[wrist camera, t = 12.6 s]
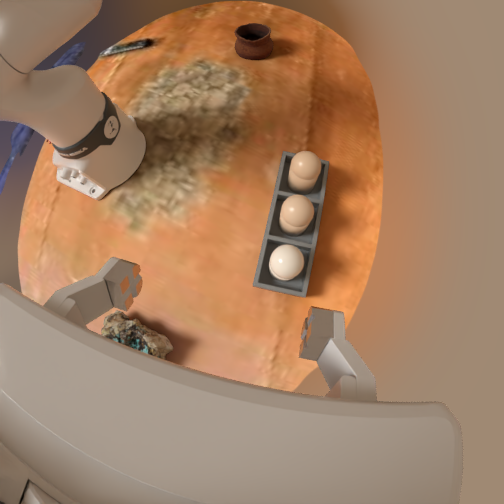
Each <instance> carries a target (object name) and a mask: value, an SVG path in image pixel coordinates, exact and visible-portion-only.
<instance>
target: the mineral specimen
mask: <svg viewBox="0 0 504 504" xmlns="http://www.w3.org/2000/svg"><path fill="white" fill-rule="evenodd" d="M102 336H104V337H106V338H109V339H111V340H113V341H116V342H118V343H121V344H123V345H126V346H128V347H131V348H133V349H136V350H138V351H141V352H144V353H146V354H149V355H152V356H155V357H158V358H160V359H163V360H166V357H165V355H166V354H168V353H169V352H171V351H172V350H173V346H172V345H171V343H170V342H169V340H168V338H167V337H166V336H165V335H161V334H159V333H157V332H156V331H154V330H150V329H149V328H147V327H146V326H145V325H142V324H141V323H140V321H139V320H138V319H134V320H130V321H129V317H128V316H126V315H125V314H124V313H123V312H120V311H117V310H116V312H115V313H113V314H111V315H109V316H107V317H105V319H104V327H103V328H102Z"/></svg>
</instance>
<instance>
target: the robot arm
mask: <svg viewBox="0 0 504 504" xmlns="http://www.w3.org/2000/svg"><path fill="white" fill-rule="evenodd" d="M101 4H102V0H0V121H13V122H18V123H22V124H25V125H27V126H29V127H31V128H32V129H34V130H36V131H37V132H39V133H40V134H42V135H43V136H44V137H46V138H47V142H48V140H49V144H51V142H52V144H53V146H54V148H55V150H54V153H53V164H54V165H55V166H56V167H57V168H58V169H57V180H58V181H59V182H61V183H62V184H64V185H67V186H69V187H71V188H73V189H75V190H77V191H79V192H81V193H83V194H85V195H87V196H89V197H91V198H93V199H95V200H100V199H102V198H103V197H104V196H105V195H106V194H107V193H108V192H109V191H110V190H111V189H112V188H114V187H116V186H118V185H120V184H122V183H123V182H125V181H126V180H127V179H128V178H129V177H130V176H131V175H132V174H133V173H134V172H135V171H136V170H137V168H138V167H139V165H140V163H141V161H142V159H143V157H144V154H145V149H146V141H145V137H144V135H143V133H142V132H141V131H140V130H139V129H138V128H137V126H136V121H135V119H134V118H133V116H127V115H126V114H125V113H124V112H123V111H122V110H121V109H120V107H119V106H118V105H117V104H115V103H112V101H111V99H110V98H109V97H107V96H106V94H105V93H103V92H100V90H99V89H98V88H97V86H96V85H95V84H94V82H93V81H92V79H91V78H90V77H89V75H88V74H87V73H86V71H85V70H84V69H82V68H80V67H77V66H73V65H63V66H59V67H56V68H53V69H50V70H45V71H35V70H32V69H33V68H34V67H36V66H37V65H38V64H39V63H40V62H41V61H43V60H44V59H45V58H46V57H47V56H49V55H50V54H51V53H52V52H53V51H55V50H56V49H57V48H59V47H60V46H61V45H63V44H64V43H65V42H67V41H68V40H69V39H71V38H72V37H73V36H74V35H75V34H76V33H77V32H78V31H80V30H81V29H82V28H83V27H84V26H85V25H86V24H87V23H89V22H90V21H91V20H92V19H93V18H94V17H95V16H97V14H98V12H99V10H100V7H101ZM94 191H95V192H94ZM140 271H141V270H140V265H138V264H135V263H132V262H129V261H126V260H123V259H119V258H116V257H112V258H110V259H109V260H108V261H107V263H106V264H105V265H104V266H103V267H102V268H101V269H100V270H99V272H98V273H97V274H96V275H95V276H90V277H87V278H85V279H83V280H80V281H78V282H76V283H73V284H71V285H69V286H66V287H64V288H62V289H59V290H57V291H55V293H54V294H53V295H52V296H51V297H50V299H49V300H48V301H47V302H46V303H45V305H44V306H42V305H40V304H38V303H37V302H35V301H33V300H31V299H30V298H28V297H26V296H25V295H23V294H21V293H20V292H18V291H16V290H15V289H13V288H12V287H10V286H9V285H7V284H5V283H1V284H0V504H459V500H460V493H461V485H462V473H463V442H462V431H461V426H460V423H459V421H458V420H457V418H456V417H455V416H454V414H453V413H452V412H451V411H450V409H449V408H448V407H447V406H446V405H445V404H444V403H442V402H383V401H377V397H376V381H375V377H374V376H373V374H372V373H371V371H370V370H369V368H368V367H367V366H366V364H365V363H364V362H363V360H362V359H361V357H360V356H359V355H358V353H357V352H356V351H355V349H354V348H353V346H352V345H351V343H350V342H349V341H346V337H345V321H344V313H343V312H341V311H335V310H330V309H324V308H319V307H314V306H311V307H310V309H309V311H308V317H307V318H305V321H304V324H303V327H302V332H301V339H302V343H301V345H300V352H299V358H304V359H309V360H314V361H317V364H318V366H319V368H320V370H321V372H322V374H323V376H324V378H325V380H326V382H327V384H328V386H329V388H330V391H329V393H328V394H327V395H326V396H325V397H323V396H315V395H308V394H302V393H295V392H289V391H283V390H278V389H273V388H268V387H263V386H258V385H253V384H249V383H244V382H240V381H236V380H231V379H227V378H224V377H220V376H216V375H212V374H209V373H205V372H201V371H198V370H195V369H191V368H188V367H185V366H182V365H178V364H175V363H172V362H169V361H166V360H163V359H160V358H158V357H155V356H152V355H149V354H146V353H144V352H141V351H138V350H136V349H133V348H131V347H128V346H126V345H123V344H121V343H118V342H116V341H113V340H111V339H109V338H106V337H104V336H102V335H100V334H97V333H95V332H93V331H91V330H89V329H88V328H87V326H86V324H88V323H89V322H91V321H93V320H94V319H96V318H97V317H99V316H101V315H102V314H104V313H105V312H107V311H109V310H110V309H112V308H113V307H115V308H118V309H121V310H124V311H128V310H129V308H130V307H131V305H132V304H133V298H134V297H136V296H138V295H139V293H140V291H141V288H142V277H141V276H140V275H139V272H140Z"/></svg>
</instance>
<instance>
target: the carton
mask: <svg viewBox="0 0 504 504" xmlns="http://www.w3.org/2000/svg"><path fill="white" fill-rule="evenodd" d="M328 168H329V161H325V160H321V159H319V158H318V156H317V155H315V154H314V153H312V152H310V151H302V152H299V153H297V154H294V153H290V152H285V151H283V154H282V158H281V163H280V167H279V172H278V176H277V181H276V185H275V190H274V194H273V199H272V203H271V208H270V212H269V217H268V221H267V225H266V230H265V234H264V239H263V243H262V247H261V252H260V256H259V260H258V265H257V269H256V273H255V278H254V282H253V287H257V288H262V289H266V290H271V291H275V292H280V293H284V294H289V295H293V296H298V297H306V293H307V288H308V283H309V278H310V274H311V269H312V264H313V258H314V253H315V248H316V243H317V237H318V232H319V226H320V220H321V214H322V208H323V202H324V195H325V189H326V182H327V175H328ZM286 244H289V245H293V246H295V247H297V248H298V249H299V250H300V251H301V252H302V254H303V257H304V266H303V269H302V271H301V272H300V273H299V274H298V275H297V276H296V277H294V278H293V279H291V280H289V281H286V282H281V281H278V280H276V279H274V278H273V277H272V276H271V274H270V272H269V262H270V257H271V254H272V253H273V251H274V250H275V249H276V248H277V247H279V246H281V245H286Z"/></svg>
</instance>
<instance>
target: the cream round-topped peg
mask: <svg viewBox="0 0 504 504" xmlns="http://www.w3.org/2000/svg"><path fill="white" fill-rule="evenodd" d="M303 266H304V257H303V254H302V252H301V251H300V250H299V249H298V248H297V247H295V246H293V245H289V244H286V245H281V246H279V247H277V248H276V249H275V250H274V251H273V253H272V254H271V257H270V262H269V272H270V274H271V276H272V277H273V278H274V279H276V280H278V281H281V282H286V281H289V280H291V279H293V278H294V277H296V276H297V275H298V274H299V273H300V272H301V271H302V269H303Z"/></svg>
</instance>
